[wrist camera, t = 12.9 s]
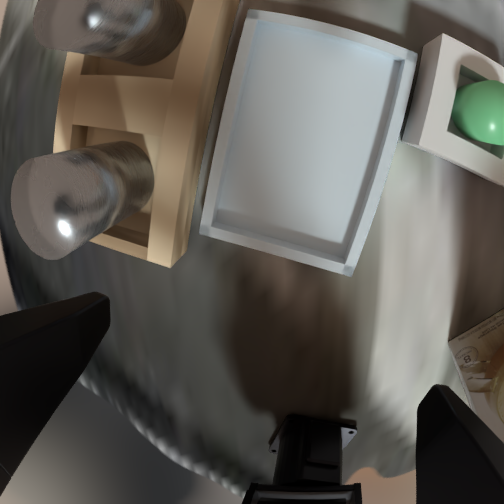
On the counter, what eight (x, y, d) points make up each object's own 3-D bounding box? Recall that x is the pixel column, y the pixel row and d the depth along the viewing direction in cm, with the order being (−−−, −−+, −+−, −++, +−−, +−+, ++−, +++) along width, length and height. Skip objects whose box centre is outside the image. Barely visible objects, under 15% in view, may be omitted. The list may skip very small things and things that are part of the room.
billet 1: (194, -5, 13) (134, -58, 6) (175, 68, 15) (100, 45, 8) (125, -2, 13) (51, -36, 7) (108, 65, 15) (23, 54, 9)
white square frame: (485, 179, 15) (511, 190, 12) (401, 141, 15) (418, 145, 12) (506, 90, 12) (533, 88, 9) (423, 45, 13) (442, 33, 10)
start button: (489, 149, 12) (514, 155, 10) (444, 127, 13) (466, 128, 10) (500, 99, 11) (526, 99, 9) (456, 74, 11) (478, 68, 9)
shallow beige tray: (186, 250, 20) (170, 267, 18) (74, 216, 21) (51, 227, 18) (245, -18, 13) (234, -37, 11) (113, -15, 14) (91, -26, 11)
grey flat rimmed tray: (349, 266, 18) (351, 276, 17) (206, 225, 19) (198, 233, 18) (410, 58, 13) (418, 53, 12) (253, 16, 14) (248, 8, 12)
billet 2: (149, 222, 18) (78, 272, 12) (90, 205, 19) (14, 244, 12) (159, 147, 17) (79, 165, 10) (96, 136, 17) (10, 152, 11)
